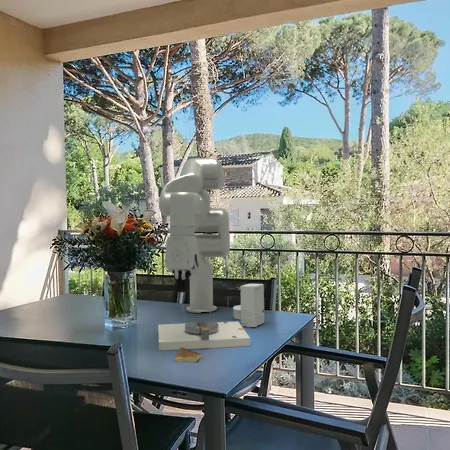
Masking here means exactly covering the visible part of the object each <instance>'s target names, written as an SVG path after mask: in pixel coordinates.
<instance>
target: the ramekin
mask: <svg viewBox="0 0 450 450" xmlns="http://www.w3.org/2000/svg"><path fill="white" fill-rule="evenodd" d="M232 310H233V318H234V319H235V318H236V319H241V304H239V305H233V307H232ZM236 319H235V320H236Z"/></svg>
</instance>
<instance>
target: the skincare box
mask: <svg viewBox="0 0 450 450" xmlns="http://www.w3.org/2000/svg"><path fill="white" fill-rule="evenodd" d="M264 289H265V284H263V283H246V284H243V285H240V305H241V320H240V325H241V326H242V327H244V326H246V327H245V328H250V327H256V326H258V325H260V324H262V323H264V324H265V297H264V296H265V295H264V294H265V290H264ZM262 325H263V324H262ZM260 326H261V325H260ZM258 327H259V326H258ZM256 328H257V327H256Z"/></svg>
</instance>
